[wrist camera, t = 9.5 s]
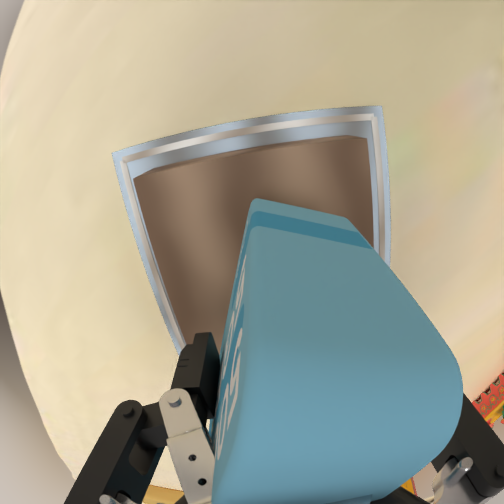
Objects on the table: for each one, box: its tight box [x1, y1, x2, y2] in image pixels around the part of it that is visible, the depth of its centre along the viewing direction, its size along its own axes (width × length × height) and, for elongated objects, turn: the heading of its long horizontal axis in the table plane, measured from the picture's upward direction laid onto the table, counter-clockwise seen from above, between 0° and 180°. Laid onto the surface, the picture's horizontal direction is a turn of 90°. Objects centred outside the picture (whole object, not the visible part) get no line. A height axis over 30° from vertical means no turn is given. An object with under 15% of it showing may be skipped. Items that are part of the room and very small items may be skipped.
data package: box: [209, 198, 463, 504], centre depth 11 cm, size 12×4×12 cm, turn 169°
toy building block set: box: [401, 374, 504, 496], centre depth 31 cm, size 12×35×14 cm, turn 150°
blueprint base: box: [112, 106, 391, 356], centre depth 22 cm, size 20×20×5 cm
